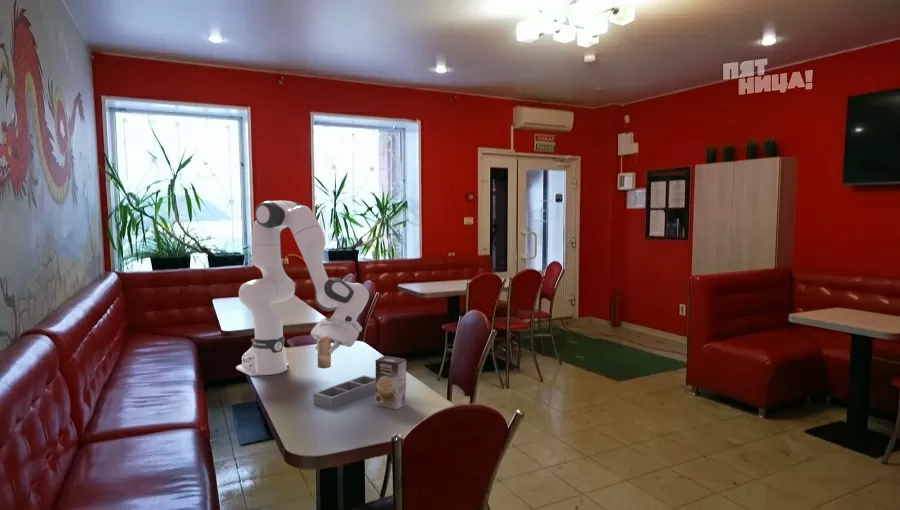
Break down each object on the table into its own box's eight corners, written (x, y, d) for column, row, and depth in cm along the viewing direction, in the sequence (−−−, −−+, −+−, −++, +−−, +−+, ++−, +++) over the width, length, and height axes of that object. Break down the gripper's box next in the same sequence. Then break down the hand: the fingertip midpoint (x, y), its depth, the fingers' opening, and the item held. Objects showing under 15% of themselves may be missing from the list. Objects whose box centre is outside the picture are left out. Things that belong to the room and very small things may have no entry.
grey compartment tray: (313, 403, 185) (313, 393, 185) (363, 384, 206) (363, 375, 206) (332, 409, 180) (331, 398, 180) (381, 389, 201) (381, 379, 201)
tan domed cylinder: (314, 366, 199) (314, 336, 198) (324, 363, 203) (324, 334, 202) (323, 369, 196) (323, 338, 195) (333, 366, 200) (333, 336, 199)
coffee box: (374, 405, 184) (374, 359, 182) (384, 399, 189) (384, 355, 188) (397, 410, 180) (397, 363, 179) (407, 403, 186) (406, 358, 184)
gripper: (319, 312, 209) (299, 342, 202) (357, 319, 198) (337, 351, 191) (327, 321, 213) (308, 351, 206) (365, 329, 202) (346, 360, 195)
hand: (323, 351), depth 198 cm, fingers closed on tan domed cylinder, 5 cm apart
